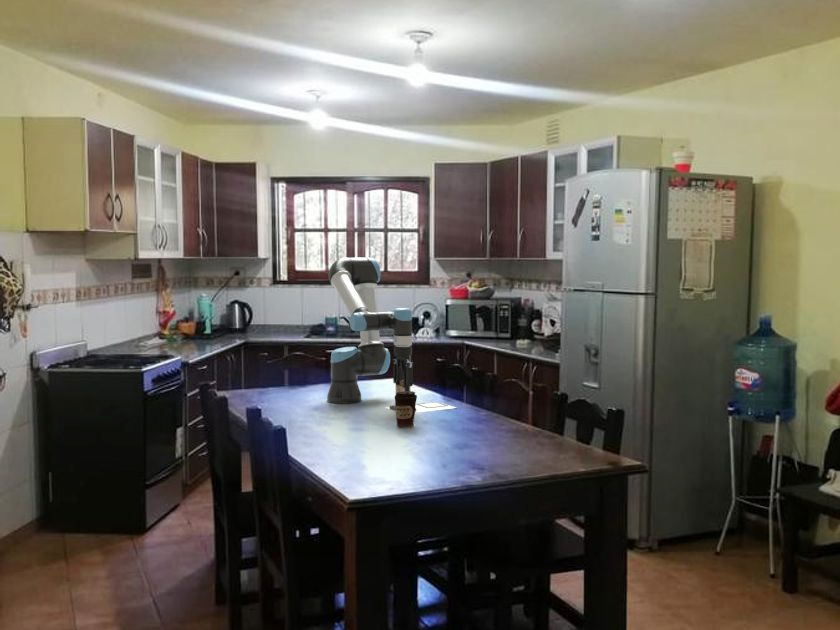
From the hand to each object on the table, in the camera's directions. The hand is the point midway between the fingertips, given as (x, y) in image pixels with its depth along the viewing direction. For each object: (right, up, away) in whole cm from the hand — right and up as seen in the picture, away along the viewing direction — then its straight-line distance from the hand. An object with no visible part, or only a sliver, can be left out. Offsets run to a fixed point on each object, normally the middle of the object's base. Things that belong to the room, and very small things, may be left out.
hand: (402, 401), depth 316 cm
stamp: (0, -1, 0) cm, 1 cm away
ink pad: (0, -3, 0) cm, 3 cm away
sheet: (+7, -3, +6) cm, 10 cm away
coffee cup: (+2, -6, -29) cm, 30 cm away
